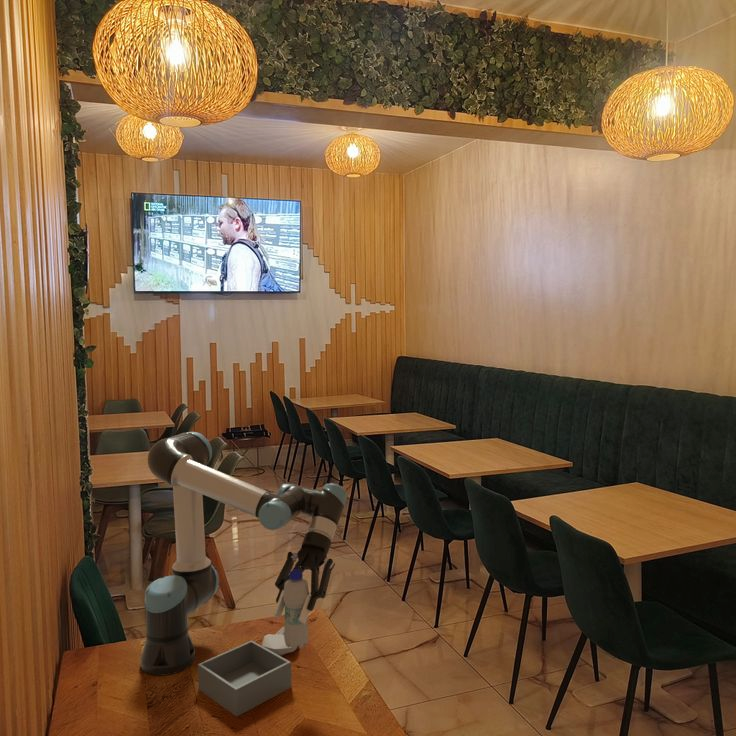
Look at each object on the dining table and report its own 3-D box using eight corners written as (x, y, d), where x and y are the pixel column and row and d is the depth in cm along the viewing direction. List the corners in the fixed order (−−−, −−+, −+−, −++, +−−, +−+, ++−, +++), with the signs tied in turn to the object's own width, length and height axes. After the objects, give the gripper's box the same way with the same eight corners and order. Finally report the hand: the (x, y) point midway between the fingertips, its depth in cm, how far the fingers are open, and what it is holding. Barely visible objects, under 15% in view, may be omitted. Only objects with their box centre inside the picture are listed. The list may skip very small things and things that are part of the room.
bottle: (304, 652, 162) (304, 576, 160) (279, 650, 163) (279, 574, 161) (312, 639, 168) (312, 566, 167) (288, 637, 170) (287, 564, 168)
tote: (198, 689, 171) (197, 664, 170) (252, 663, 183) (251, 640, 183) (236, 716, 159) (235, 689, 158) (291, 687, 171) (290, 662, 171)
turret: (307, 637, 203) (307, 622, 204) (291, 660, 184) (292, 643, 184) (276, 636, 205) (277, 620, 205) (258, 658, 185) (258, 641, 186)
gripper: (355, 548, 174) (328, 632, 160) (293, 538, 182) (262, 617, 168) (347, 535, 169) (318, 621, 155) (283, 525, 177) (250, 606, 163)
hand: (289, 619), depth 162 cm, fingers closed on bottle, 7 cm apart
